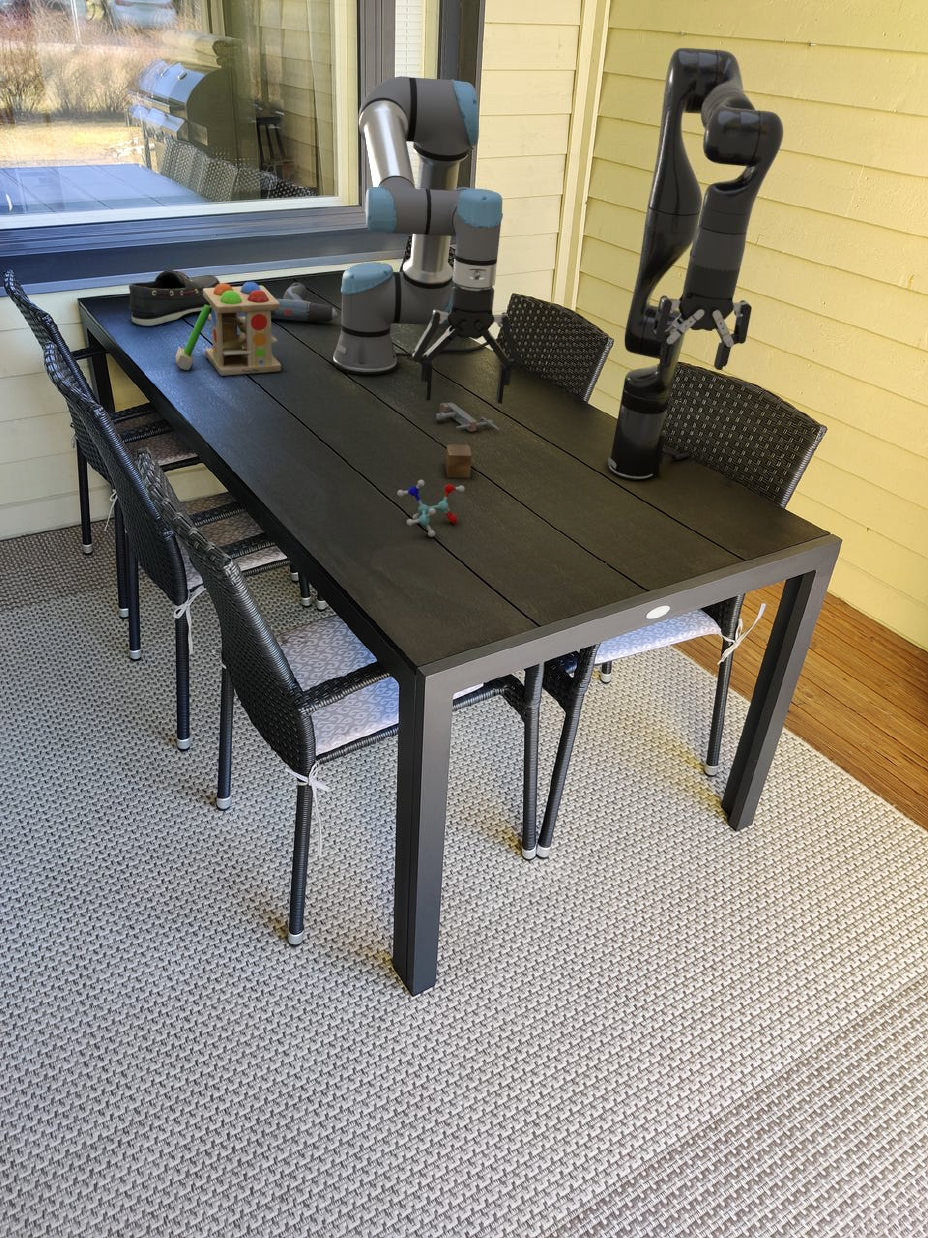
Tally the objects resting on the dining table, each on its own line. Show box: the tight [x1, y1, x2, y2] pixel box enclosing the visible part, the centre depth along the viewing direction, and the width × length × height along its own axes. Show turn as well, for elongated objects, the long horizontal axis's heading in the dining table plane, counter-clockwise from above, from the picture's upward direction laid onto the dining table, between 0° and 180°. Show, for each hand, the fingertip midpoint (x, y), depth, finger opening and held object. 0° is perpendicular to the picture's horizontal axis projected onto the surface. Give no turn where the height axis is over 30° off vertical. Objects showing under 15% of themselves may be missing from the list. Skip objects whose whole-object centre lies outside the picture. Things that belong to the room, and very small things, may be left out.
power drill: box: [271, 282, 338, 322], centre depth 265 cm, size 5×19×20 cm
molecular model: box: [397, 479, 466, 538], centre depth 173 cm, size 12×10×10 cm
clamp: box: [435, 402, 502, 433], centre depth 212 cm, size 15×2×10 cm
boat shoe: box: [128, 268, 221, 327], centre depth 258 cm, size 13×33×10 cm, turn 147°
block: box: [444, 444, 473, 479], centre depth 192 cm, size 4×5×5 cm
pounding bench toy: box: [174, 281, 282, 377], centre depth 225 cm, size 23×14×18 cm, turn 116°
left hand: (463, 399), depth 185 cm, fingers open, 13 cm apart
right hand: (691, 366), depth 153 cm, fingers open, 8 cm apart
